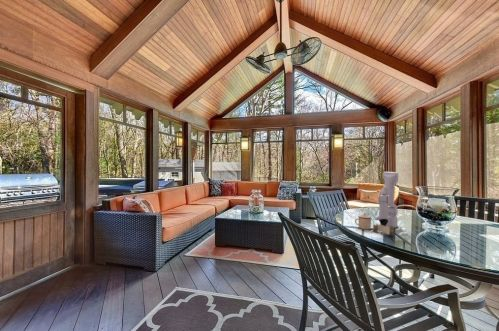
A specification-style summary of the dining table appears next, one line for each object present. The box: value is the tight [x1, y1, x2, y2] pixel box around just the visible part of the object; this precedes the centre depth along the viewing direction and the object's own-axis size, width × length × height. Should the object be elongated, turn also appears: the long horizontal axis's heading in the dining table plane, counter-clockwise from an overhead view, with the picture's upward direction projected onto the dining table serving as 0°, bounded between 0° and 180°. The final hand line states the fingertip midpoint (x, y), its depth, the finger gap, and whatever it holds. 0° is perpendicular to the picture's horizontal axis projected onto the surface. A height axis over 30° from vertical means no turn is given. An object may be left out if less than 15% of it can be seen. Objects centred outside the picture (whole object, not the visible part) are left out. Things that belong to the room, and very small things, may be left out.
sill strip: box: [376, 230, 390, 236], centre depth 174 cm, size 2×11×1 cm, turn 26°
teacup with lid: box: [354, 212, 372, 230], centre depth 186 cm, size 12×9×12 cm
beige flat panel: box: [375, 223, 390, 234], centre depth 174 cm, size 12×1×5 cm, turn 18°
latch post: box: [372, 224, 378, 233], centre depth 177 cm, size 2×2×5 cm, turn 26°
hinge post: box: [389, 226, 395, 237], centre depth 167 cm, size 2×2×7 cm
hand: (383, 229), depth 176 cm, fingers closed
